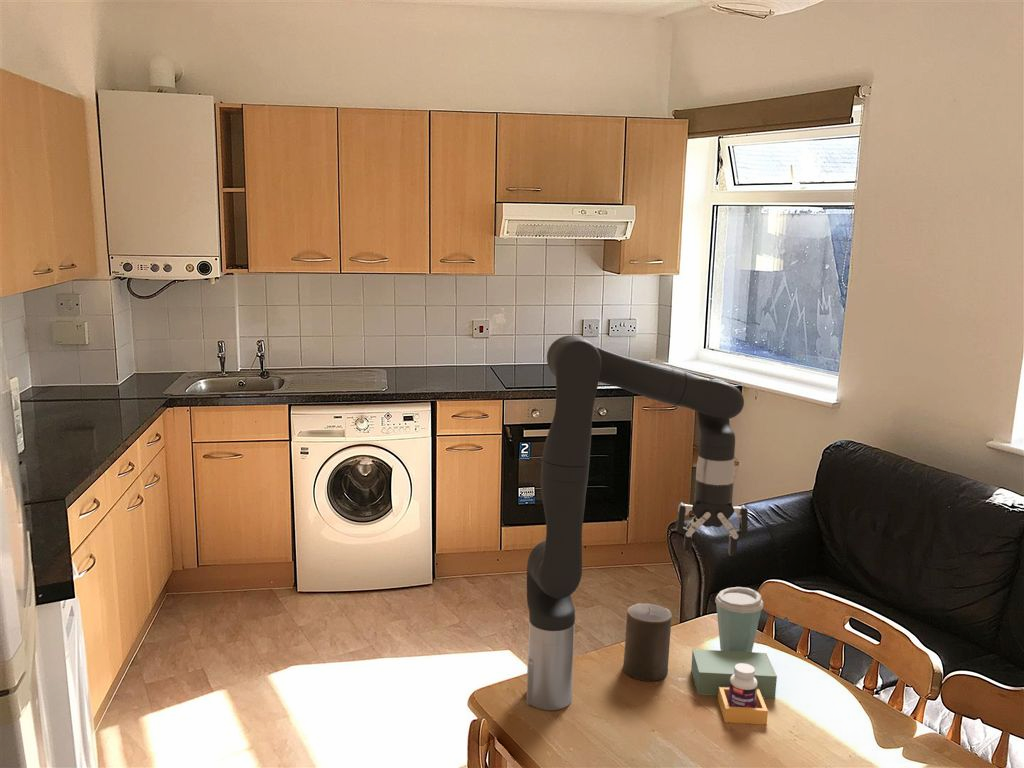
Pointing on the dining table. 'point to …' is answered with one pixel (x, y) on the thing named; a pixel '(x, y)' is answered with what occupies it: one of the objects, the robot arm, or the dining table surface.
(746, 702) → the pill bottle
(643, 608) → the pillar candle
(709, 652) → the green slab
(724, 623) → the disposable coffee cup
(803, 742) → the dining table surface
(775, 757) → the dining table surface
